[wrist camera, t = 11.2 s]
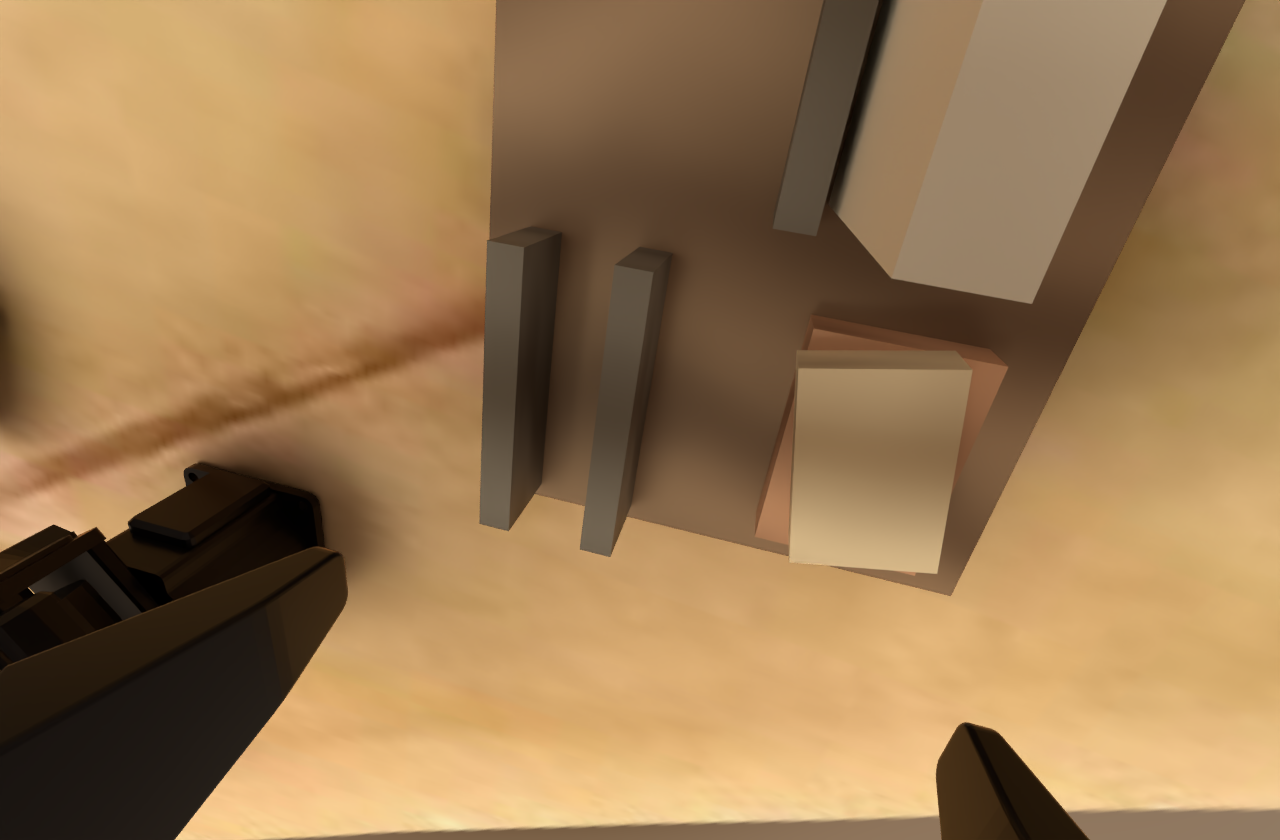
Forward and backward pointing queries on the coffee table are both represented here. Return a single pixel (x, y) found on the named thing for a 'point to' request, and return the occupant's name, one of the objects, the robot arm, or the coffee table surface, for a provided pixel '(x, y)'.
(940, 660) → the coffee table surface
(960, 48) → the off-white sheet
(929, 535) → the birch offcut
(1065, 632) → the coffee table surface
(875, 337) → the cedar offcut
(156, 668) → the robot arm
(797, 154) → the walnut rack
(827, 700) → the coffee table surface
